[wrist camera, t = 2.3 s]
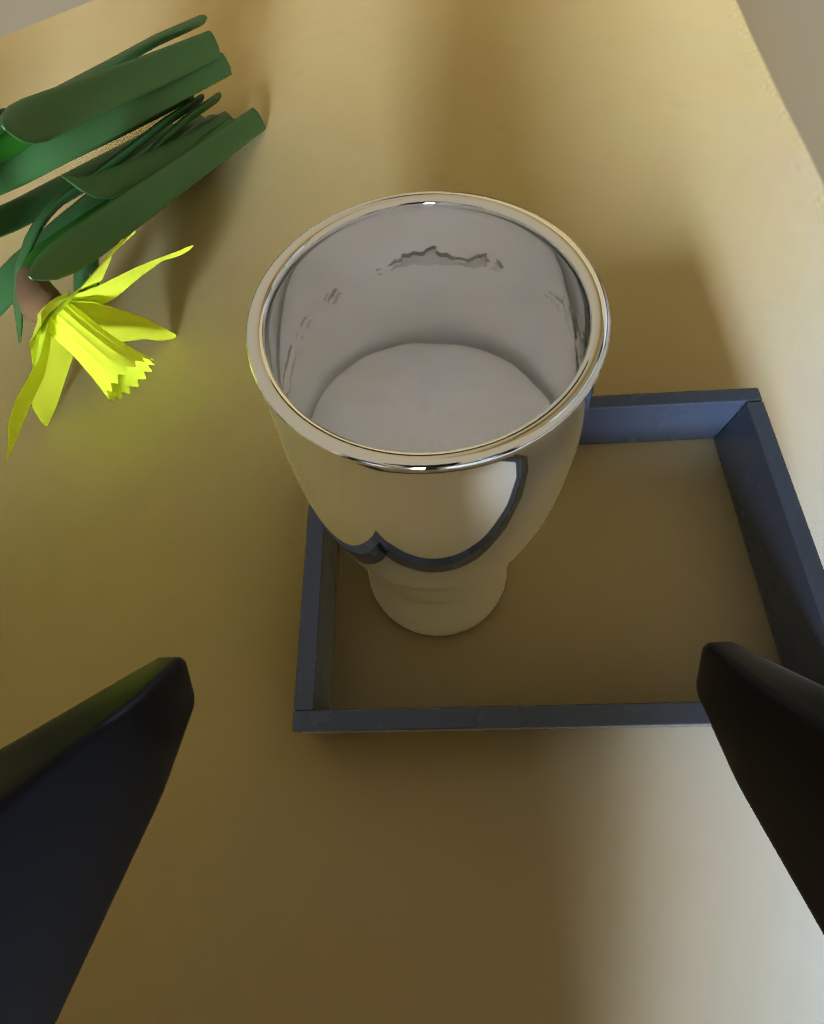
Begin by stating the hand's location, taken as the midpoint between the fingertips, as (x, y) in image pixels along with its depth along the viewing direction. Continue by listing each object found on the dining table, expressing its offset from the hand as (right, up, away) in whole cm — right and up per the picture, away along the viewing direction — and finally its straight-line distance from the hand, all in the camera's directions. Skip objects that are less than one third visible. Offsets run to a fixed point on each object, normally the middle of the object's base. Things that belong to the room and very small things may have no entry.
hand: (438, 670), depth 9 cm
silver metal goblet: (+1, 0, +14) cm, 14 cm away
